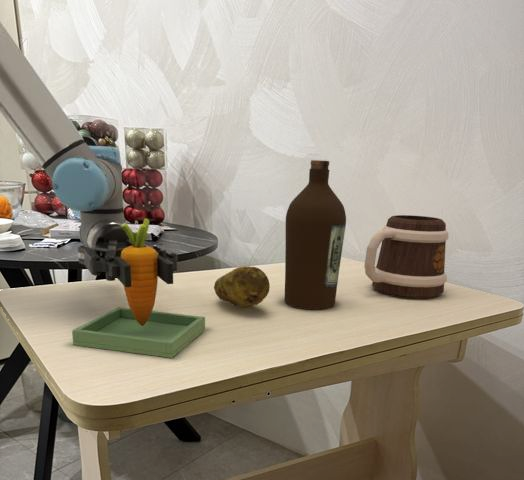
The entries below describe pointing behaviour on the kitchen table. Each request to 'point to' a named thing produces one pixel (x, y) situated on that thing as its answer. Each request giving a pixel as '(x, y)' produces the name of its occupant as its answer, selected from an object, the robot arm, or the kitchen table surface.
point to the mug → (408, 257)
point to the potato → (243, 286)
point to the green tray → (140, 332)
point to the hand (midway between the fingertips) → (149, 275)
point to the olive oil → (314, 243)
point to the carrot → (141, 273)
